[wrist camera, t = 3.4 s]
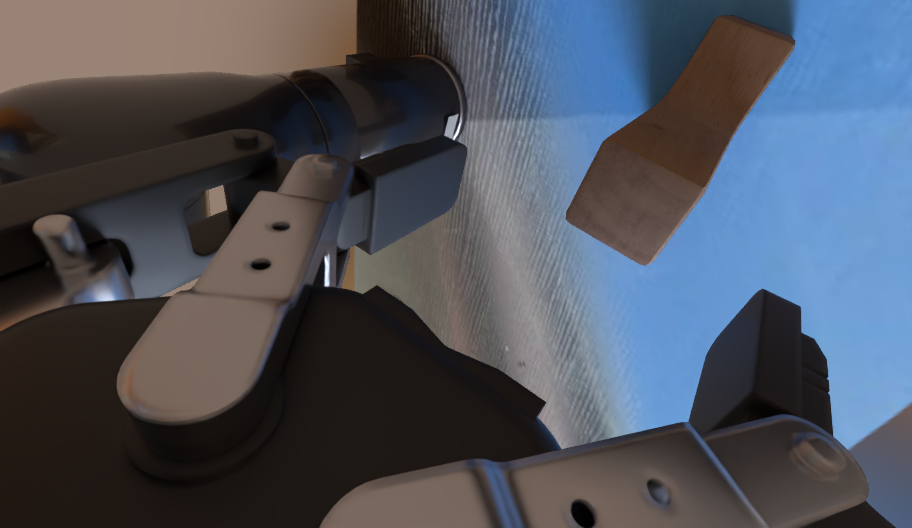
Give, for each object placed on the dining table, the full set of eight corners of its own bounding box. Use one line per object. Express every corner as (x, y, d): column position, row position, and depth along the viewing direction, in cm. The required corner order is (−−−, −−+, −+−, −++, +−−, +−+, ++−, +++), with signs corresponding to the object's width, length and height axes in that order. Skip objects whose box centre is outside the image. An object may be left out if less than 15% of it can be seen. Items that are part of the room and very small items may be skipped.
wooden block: (726, 12, 27) (665, 15, 14) (798, 39, 26) (800, 66, 13) (650, 140, 33) (559, 221, 20) (706, 167, 32) (645, 272, 19)
